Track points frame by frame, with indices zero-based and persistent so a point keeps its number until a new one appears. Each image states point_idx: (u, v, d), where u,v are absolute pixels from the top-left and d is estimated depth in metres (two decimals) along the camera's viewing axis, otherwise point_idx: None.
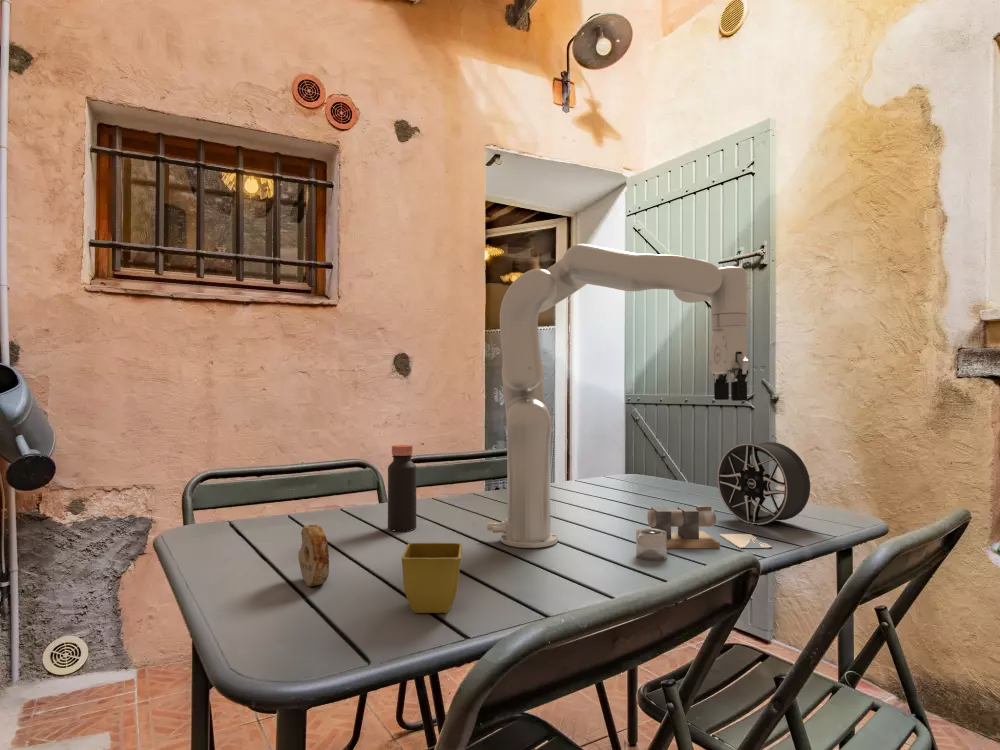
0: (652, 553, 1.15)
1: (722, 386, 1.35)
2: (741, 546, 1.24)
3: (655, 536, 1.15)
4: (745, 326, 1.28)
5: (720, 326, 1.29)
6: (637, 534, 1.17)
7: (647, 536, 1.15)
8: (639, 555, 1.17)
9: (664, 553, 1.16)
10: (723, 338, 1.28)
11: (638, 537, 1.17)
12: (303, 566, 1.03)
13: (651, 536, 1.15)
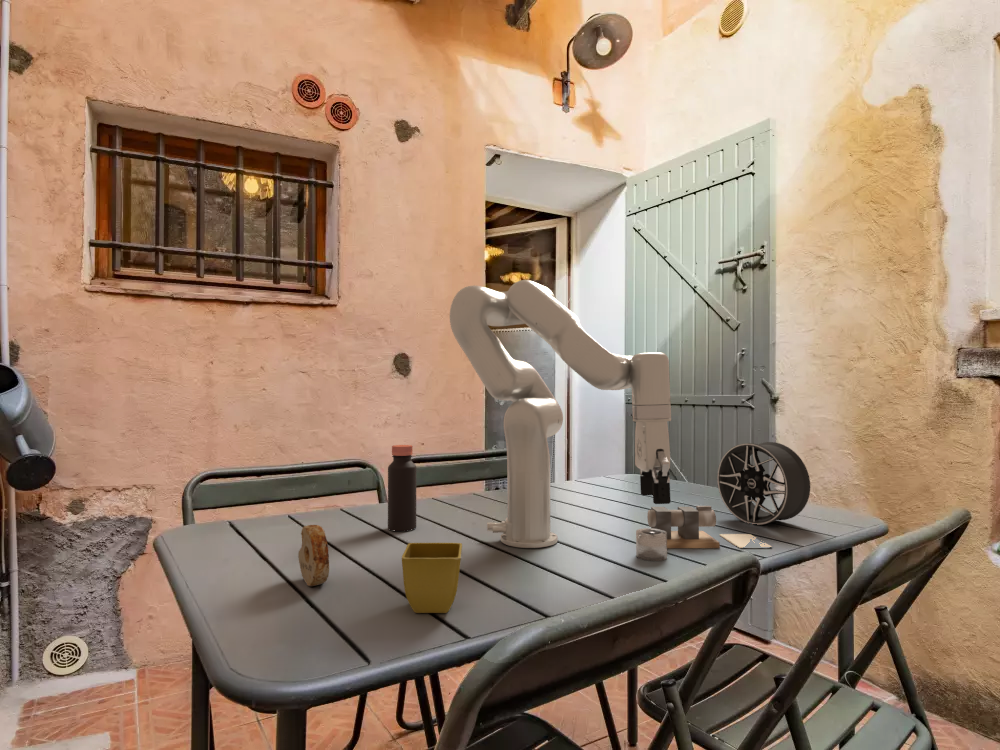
0: (652, 553, 1.15)
1: (649, 480, 1.22)
2: (741, 546, 1.24)
3: (655, 536, 1.15)
4: (667, 418, 1.16)
5: (640, 419, 1.16)
6: (637, 534, 1.17)
7: (647, 536, 1.15)
8: (639, 555, 1.17)
9: (664, 553, 1.16)
10: (644, 433, 1.15)
11: (638, 537, 1.17)
12: (303, 566, 1.03)
13: (651, 536, 1.15)
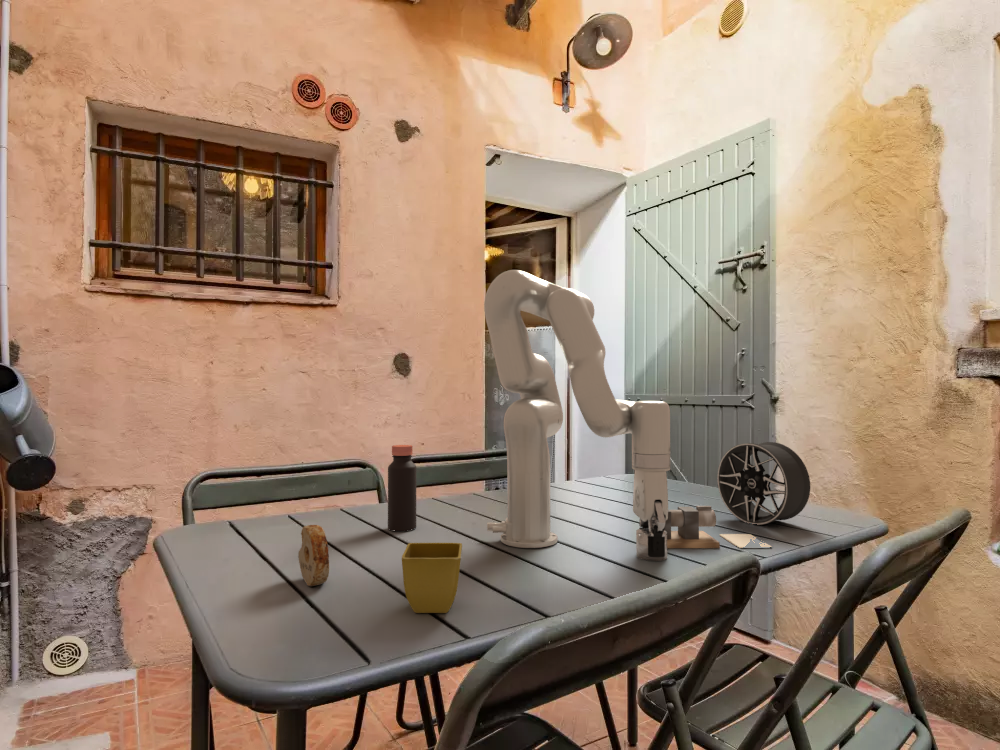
0: None
1: None
2: (741, 546, 1.24)
3: None
4: (667, 468, 1.15)
5: (639, 468, 1.16)
6: (637, 534, 1.17)
7: (647, 536, 1.15)
8: (640, 555, 1.17)
9: None
10: (642, 482, 1.15)
11: (638, 537, 1.17)
12: (303, 566, 1.03)
13: None
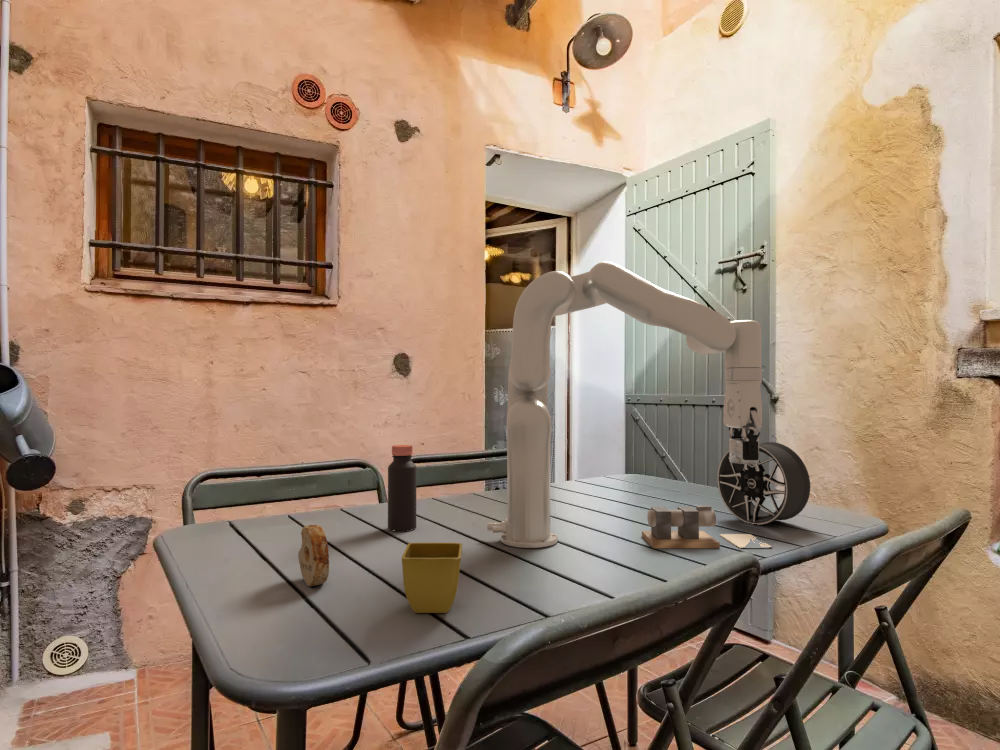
0: None
1: None
2: (741, 546, 1.24)
3: None
4: (759, 380, 1.27)
5: (734, 380, 1.27)
6: (731, 441, 1.29)
7: (742, 441, 1.27)
8: (734, 460, 1.28)
9: None
10: (738, 392, 1.26)
11: (732, 443, 1.29)
12: (303, 566, 1.03)
13: None
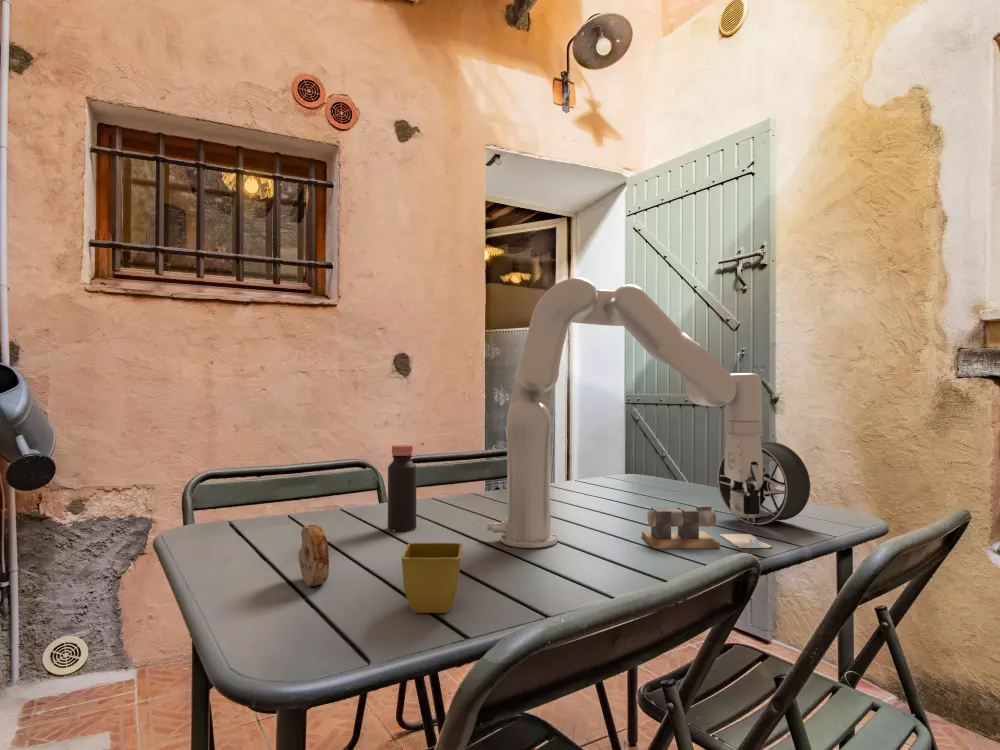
0: None
1: None
2: (741, 546, 1.24)
3: None
4: (760, 434, 1.27)
5: (735, 434, 1.27)
6: (732, 494, 1.29)
7: None
8: (735, 513, 1.28)
9: None
10: (738, 446, 1.26)
11: (733, 497, 1.28)
12: (303, 566, 1.03)
13: None
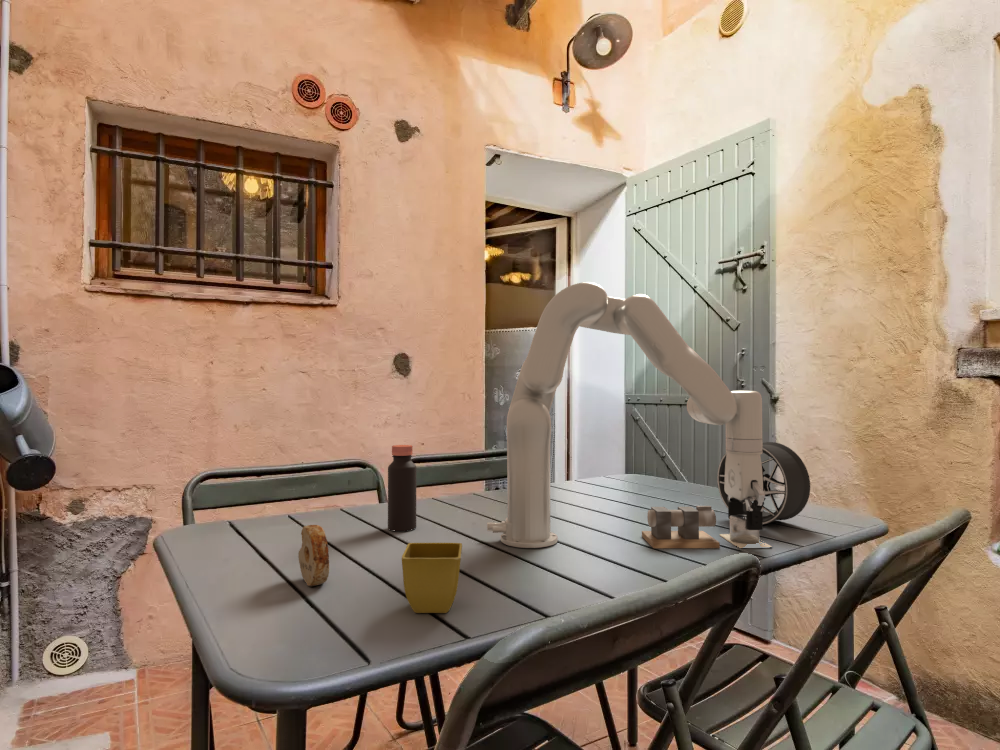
0: (746, 536, 1.26)
1: (736, 506, 1.34)
2: (741, 546, 1.24)
3: None
4: (760, 452, 1.27)
5: (735, 451, 1.27)
6: (731, 519, 1.29)
7: (742, 521, 1.27)
8: (734, 538, 1.28)
9: (757, 536, 1.27)
10: (738, 464, 1.26)
11: (733, 522, 1.28)
12: (303, 566, 1.03)
13: None
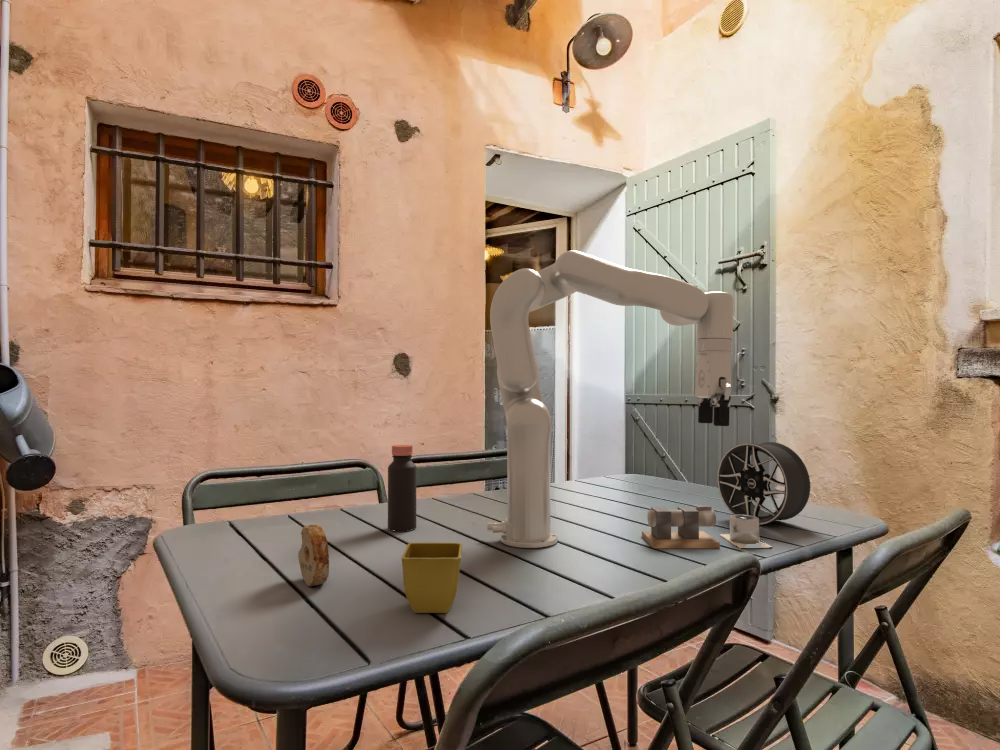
0: (747, 536, 1.26)
1: (706, 410, 1.35)
2: (741, 546, 1.24)
3: (750, 521, 1.26)
4: (730, 351, 1.28)
5: (705, 351, 1.29)
6: (731, 519, 1.29)
7: (742, 521, 1.26)
8: (734, 539, 1.28)
9: (757, 536, 1.27)
10: (708, 363, 1.28)
11: (733, 522, 1.28)
12: (303, 566, 1.03)
13: (746, 521, 1.26)
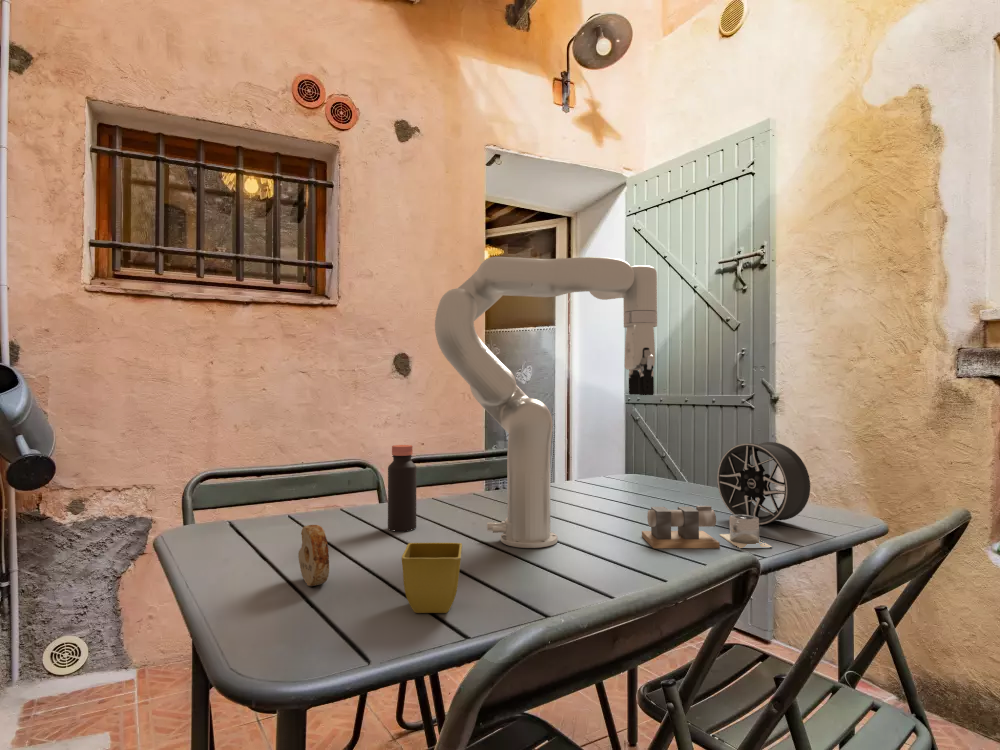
0: (747, 536, 1.26)
1: (636, 381, 1.39)
2: (741, 546, 1.24)
3: (750, 521, 1.26)
4: (654, 323, 1.32)
5: (630, 323, 1.33)
6: (731, 519, 1.29)
7: (742, 521, 1.27)
8: (734, 539, 1.28)
9: (757, 536, 1.27)
10: (632, 334, 1.32)
11: (733, 522, 1.28)
12: (303, 566, 1.03)
13: (746, 521, 1.26)
